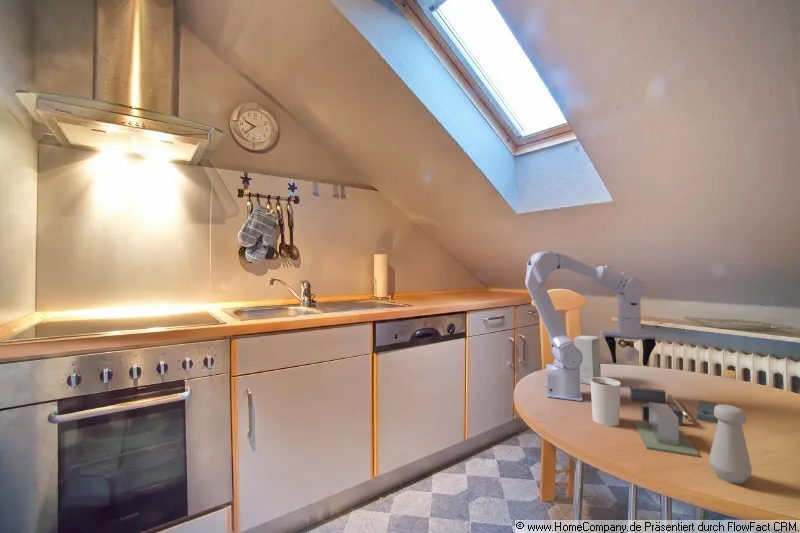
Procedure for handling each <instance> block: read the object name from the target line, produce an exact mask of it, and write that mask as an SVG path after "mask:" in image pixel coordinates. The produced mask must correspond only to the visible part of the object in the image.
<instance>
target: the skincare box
mask: <svg viewBox="0 0 800 533" xmlns="http://www.w3.org/2000/svg"><path fill="white" fill-rule="evenodd" d="M573 340H574V341H573V344H574V345H575V347H576V348H578V349H579V350H580V351H581V353H582V355H583V360H582V363H581V364H580V384H581V383H582V384H585V385H590V386H591V382H590V379H591V378H593V377H602V374H601V373H602V372H601V349H600V348H601V347H600V343H601V340H600V336H595V335H594V336H593V335H584V334H583V335H578V336H576V337H574V339H573Z"/></svg>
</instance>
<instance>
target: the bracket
mask: <svg viewBox="0 0 800 533" xmlns="http://www.w3.org/2000/svg"><path fill="white" fill-rule="evenodd" d="M717 405H720V403H715V402H709V401H705V400H699V401H698V405H697V410H696V414H695V415H696V416H695V417H696V420H700V421H702V422H703V421H705V422H708V423H711V424H716V425H717V423H718V419H717V418H716V417H715V415H714V408H715V406H717Z"/></svg>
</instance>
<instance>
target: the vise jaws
mask: <svg viewBox="0 0 800 533" xmlns="http://www.w3.org/2000/svg"><path fill="white" fill-rule="evenodd" d="M629 388H630V389H629V391H630V393H629V395H630V396H629V397H630V401H631V402H638V403H640V404H641V405H640V406H641V412H640V414H641V417H640V418H641V419H642V421H644V422H649V402H652V403H660V404H667V403H666V402H667V401H666V400H667V398H668V399H669V400H670V402H672V404H673V405H674V407H670V406H669V407H670V408H671V410H672V411H673V412H674V413H675V414H676V416H677V417H678V427H679V426H680V427H684V425H683V423H684V422H683V419H684V418H685V419H686V420H687V421H688V422H690V423H692V422H693V420H694V418H692V417H691V416H690V415H689V413H688V411H686V410H685V409H684V408H683V407H682V406H681V405H680V403H679V402H678V401H677V400H676V399H675V398H674V396H672V395H671V394H668V395H666V393H667V392H666V391H665V390H664V389H657V388H649V387H640V386H639V387H638V386H630V387H629ZM666 396H667V398H666ZM645 403H646V404H645ZM683 416H684V418H683Z"/></svg>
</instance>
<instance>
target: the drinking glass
mask: <svg viewBox="0 0 800 533" xmlns="http://www.w3.org/2000/svg"><path fill="white" fill-rule="evenodd" d="M590 382H591V385H590V396H591V409H592V413H591V414H592V420H593V422H595V423H597V424H599V425H602V426H606V427H617V426H619V424H620V411H621V408H620V406H621V387H622V386H621V382H620V381H619V380H617V379H614V378H609V377H604V376H603V377H602V376H601V377H593V378H591V379H590Z"/></svg>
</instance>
